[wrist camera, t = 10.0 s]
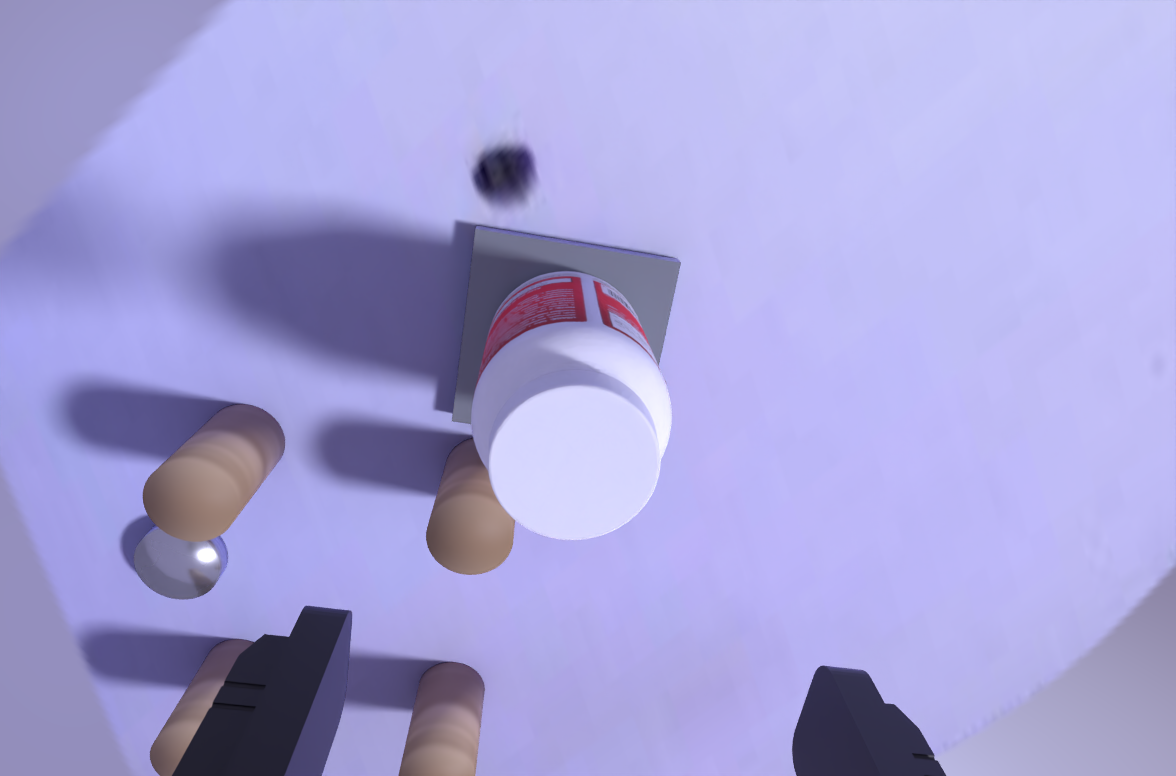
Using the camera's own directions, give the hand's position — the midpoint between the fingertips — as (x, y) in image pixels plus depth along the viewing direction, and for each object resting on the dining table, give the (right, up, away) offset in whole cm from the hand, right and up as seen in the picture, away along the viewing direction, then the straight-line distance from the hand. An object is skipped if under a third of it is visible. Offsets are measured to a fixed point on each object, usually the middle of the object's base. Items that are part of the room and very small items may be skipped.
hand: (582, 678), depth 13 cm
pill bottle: (-1, +7, +18) cm, 19 cm away
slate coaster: (-1, +7, +19) cm, 20 cm away
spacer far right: (-7, -10, +25) cm, 27 cm away
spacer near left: (-14, +3, +20) cm, 24 cm away
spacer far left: (-16, -8, +24) cm, 30 cm away
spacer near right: (-5, +1, +21) cm, 21 cm away
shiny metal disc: (-18, -2, +22) cm, 28 cm away
